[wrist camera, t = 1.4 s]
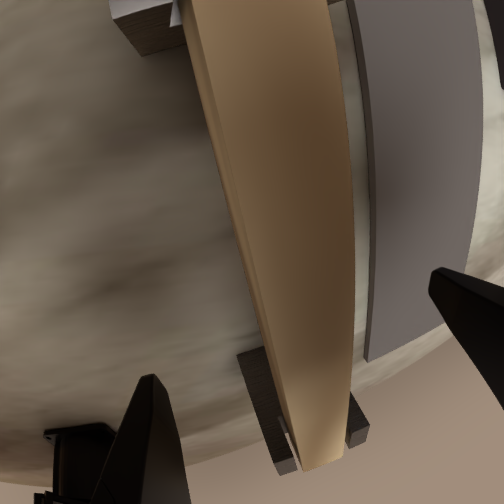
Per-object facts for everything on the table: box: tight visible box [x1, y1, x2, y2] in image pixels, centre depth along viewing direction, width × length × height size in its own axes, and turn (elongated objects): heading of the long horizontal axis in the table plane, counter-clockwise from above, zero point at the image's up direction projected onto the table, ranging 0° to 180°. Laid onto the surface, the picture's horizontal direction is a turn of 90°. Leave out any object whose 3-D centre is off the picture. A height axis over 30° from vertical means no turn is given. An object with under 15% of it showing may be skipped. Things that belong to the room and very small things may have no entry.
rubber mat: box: [347, 0, 483, 363], centre depth 16 cm, size 9×28×1 cm, turn 12°
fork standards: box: [108, 0, 370, 476], centre depth 12 cm, size 5×21×8 cm, turn 12°
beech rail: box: [177, 0, 355, 472], centre depth 10 cm, size 2×24×2 cm, turn 12°
